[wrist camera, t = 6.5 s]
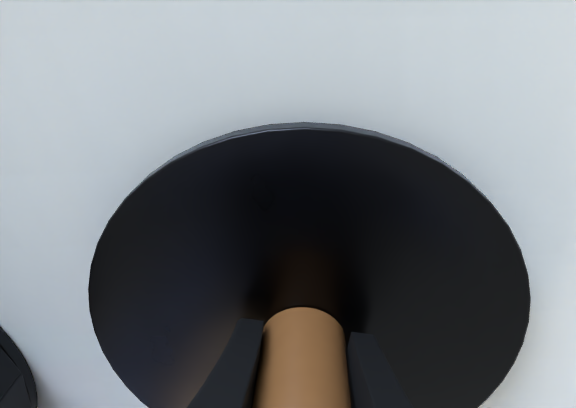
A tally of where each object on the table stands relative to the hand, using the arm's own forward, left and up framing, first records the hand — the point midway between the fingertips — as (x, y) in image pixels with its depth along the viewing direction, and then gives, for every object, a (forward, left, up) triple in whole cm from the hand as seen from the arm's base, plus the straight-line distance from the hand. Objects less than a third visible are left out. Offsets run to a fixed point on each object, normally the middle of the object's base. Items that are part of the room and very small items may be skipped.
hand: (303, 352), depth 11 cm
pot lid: (0, 0, -1) cm, 1 cm away
